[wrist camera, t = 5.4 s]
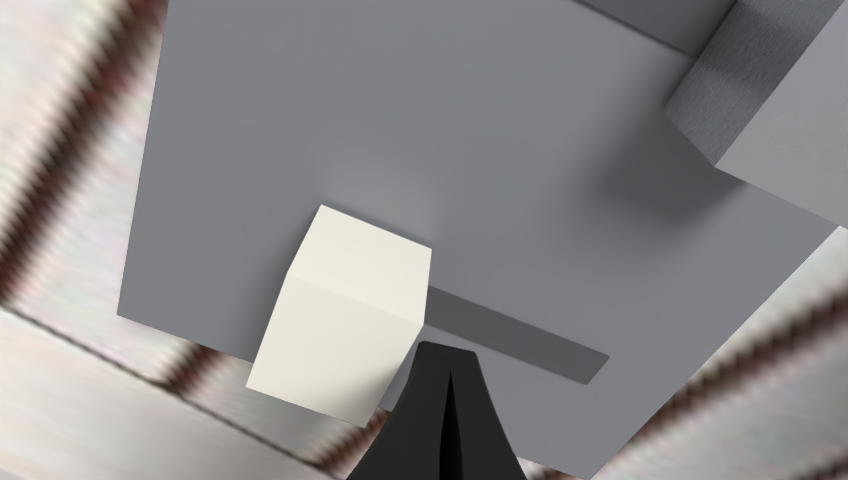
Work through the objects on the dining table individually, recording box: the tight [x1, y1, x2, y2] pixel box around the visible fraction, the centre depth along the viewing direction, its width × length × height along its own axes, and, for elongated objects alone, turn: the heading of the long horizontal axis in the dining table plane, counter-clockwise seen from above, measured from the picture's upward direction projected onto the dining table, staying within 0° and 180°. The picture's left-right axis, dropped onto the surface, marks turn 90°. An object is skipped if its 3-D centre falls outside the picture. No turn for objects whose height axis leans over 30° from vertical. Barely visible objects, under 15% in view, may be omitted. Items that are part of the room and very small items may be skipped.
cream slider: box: [246, 205, 432, 428], centre depth 14 cm, size 3×4×3 cm
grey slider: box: [662, 0, 848, 229], centre depth 10 cm, size 3×4×3 cm
